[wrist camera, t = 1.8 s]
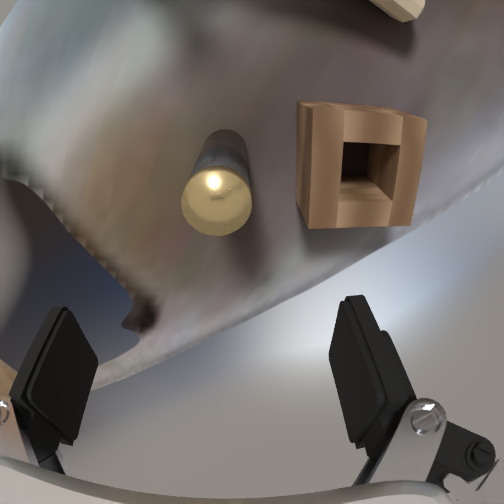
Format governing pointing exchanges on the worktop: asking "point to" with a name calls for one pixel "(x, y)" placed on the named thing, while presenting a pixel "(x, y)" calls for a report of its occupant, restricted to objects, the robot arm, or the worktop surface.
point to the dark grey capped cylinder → (219, 186)
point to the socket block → (378, 170)
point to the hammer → (401, 8)
